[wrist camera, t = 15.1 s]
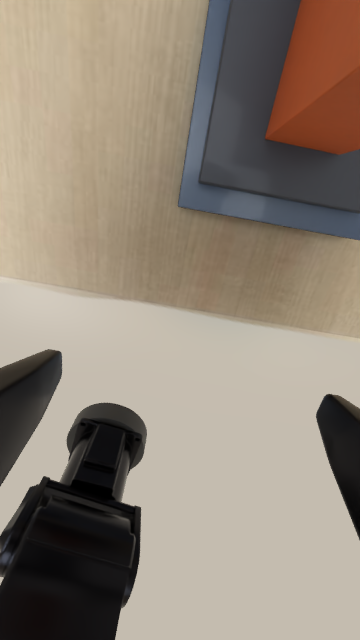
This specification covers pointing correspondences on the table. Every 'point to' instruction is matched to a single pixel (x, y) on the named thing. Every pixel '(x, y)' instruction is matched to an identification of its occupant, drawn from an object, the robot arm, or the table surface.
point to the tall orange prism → (321, 80)
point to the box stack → (259, 131)
